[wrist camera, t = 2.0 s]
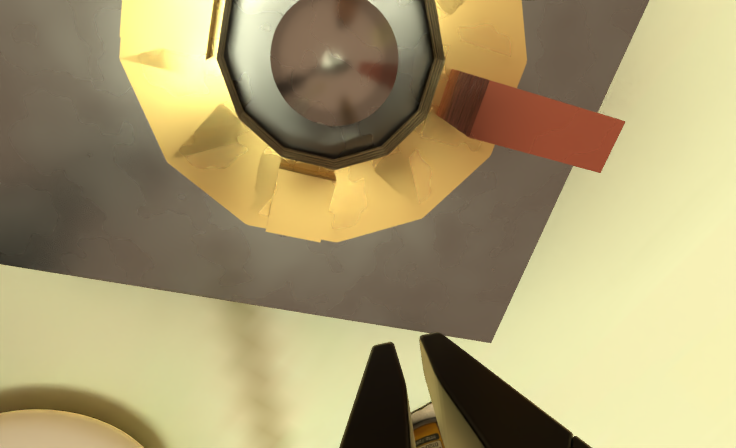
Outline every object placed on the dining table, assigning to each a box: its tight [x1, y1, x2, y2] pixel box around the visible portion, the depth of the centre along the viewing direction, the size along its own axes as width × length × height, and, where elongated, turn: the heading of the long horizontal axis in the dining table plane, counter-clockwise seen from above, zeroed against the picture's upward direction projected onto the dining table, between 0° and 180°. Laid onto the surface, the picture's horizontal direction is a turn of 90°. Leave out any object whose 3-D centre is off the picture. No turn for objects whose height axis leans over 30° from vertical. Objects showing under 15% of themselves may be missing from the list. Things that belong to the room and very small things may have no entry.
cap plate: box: [0, 0, 649, 343], centre depth 16 cm, size 22×22×4 cm
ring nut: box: [119, 0, 625, 242], centre depth 14 cm, size 15×13×5 cm
